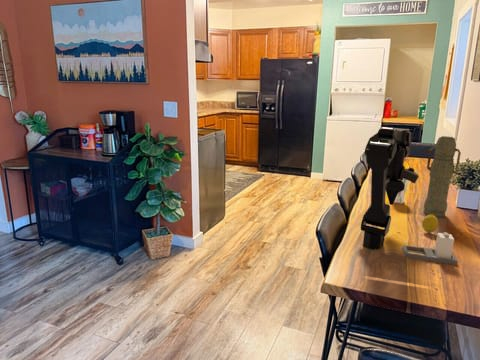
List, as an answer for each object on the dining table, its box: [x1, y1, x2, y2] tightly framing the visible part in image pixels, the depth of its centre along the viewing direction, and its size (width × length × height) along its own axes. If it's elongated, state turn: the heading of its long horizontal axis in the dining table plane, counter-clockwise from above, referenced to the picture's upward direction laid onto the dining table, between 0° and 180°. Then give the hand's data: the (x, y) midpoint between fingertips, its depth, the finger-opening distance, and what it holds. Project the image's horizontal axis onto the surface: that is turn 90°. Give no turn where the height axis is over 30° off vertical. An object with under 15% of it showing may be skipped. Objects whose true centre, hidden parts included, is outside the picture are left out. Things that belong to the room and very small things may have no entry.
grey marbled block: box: [393, 178, 410, 205], centre depth 175 cm, size 7×7×15 cm
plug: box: [434, 231, 455, 259], centre depth 117 cm, size 4×4×9 cm
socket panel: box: [401, 244, 459, 266], centre depth 119 cm, size 16×7×2 cm, turn 73°
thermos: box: [423, 135, 462, 219], centre depth 156 cm, size 9×12×35 cm
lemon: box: [421, 214, 439, 234], centre depth 138 cm, size 6×6×8 cm
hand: (390, 200), depth 138 cm, fingers open, 9 cm apart
